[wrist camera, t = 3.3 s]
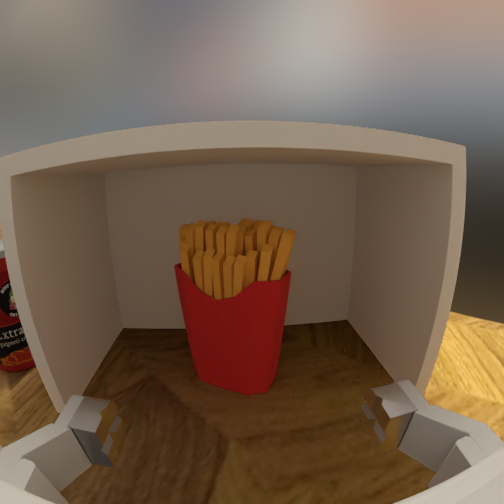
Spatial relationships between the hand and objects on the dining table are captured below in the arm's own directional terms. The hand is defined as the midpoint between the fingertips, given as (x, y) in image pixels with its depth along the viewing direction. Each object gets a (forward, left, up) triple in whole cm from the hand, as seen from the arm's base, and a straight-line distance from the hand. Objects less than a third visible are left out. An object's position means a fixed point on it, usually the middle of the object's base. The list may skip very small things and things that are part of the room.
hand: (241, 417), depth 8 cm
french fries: (0, +12, -8) cm, 15 cm away
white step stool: (0, +13, -8) cm, 15 cm away
